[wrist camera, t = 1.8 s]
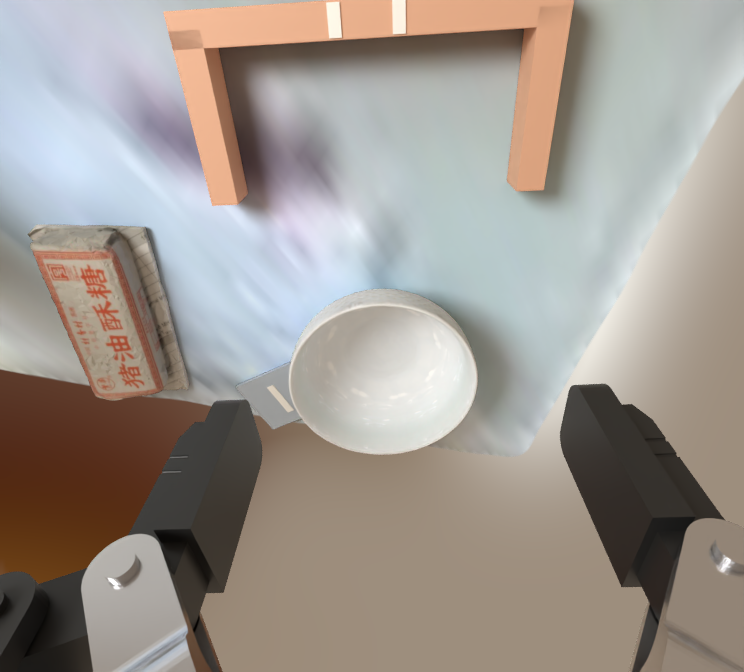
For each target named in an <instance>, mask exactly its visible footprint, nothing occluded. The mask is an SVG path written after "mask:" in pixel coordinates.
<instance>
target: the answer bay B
mask: <svg viewBox="0 0 744 672" xmlns="http://www.w3.org/2000/svg"><path fill="white" fill-rule="evenodd" d="M573 4H574V0H328V1H313V2H298V3H284V4H269V5H254V6H240V7H225V8H210V9H196V10H181V11H166V12H164V16H165V20H166V24H167V28H168V32H169V36H170V40H171V44H172V48H173V52H174V56H175V60H176V64H177V68H178V72H179V76H180V79H181V83H182V87H183V91H184V95H185V99H186V103H187V107H188V111H189V115H190V119H191V123H192V127H193V131H194V135H195V139H196V143H197V147H198V151H199V155H200V159H201V163H202V166H203V170H204V174H205V178H206V182H207V186H208V190H209V194H210V198H211V202H212V206H216V205H237V204H239V203H240V202H241V201H242V200H243V199H244V197H245V196H246V195H247V194H248V190H247V186H246V181H245V176H244V171H243V166H242V161H241V156H240V151H239V147H238V142H237V137H236V132H235V127H234V122H233V117H232V112H231V108H230V103H229V98H228V93H227V88H226V83H225V78H224V73H223V69H222V64H221V59H220V54H219V49H218V48H229V47H245V46H260V45H276V44H292V43H307V42H323V41H339V40H354V39H370V38H386V37H401V36H417V35H433V34H448V33H464V32H479V31H495V30H511V29H524V34H523V43H522V51H521V60H520V69H519V78H518V87H517V96H516V105H515V113H514V122H513V131H512V140H511V149H510V158H509V167H508V175H507V182H508V183H509V184H510V185H511V186H512V187H513V188H514V189H515V190H516V191H534V190H544V185H545V179H546V173H547V167H548V160H549V154H550V148H551V142H552V135H553V129H554V123H555V116H556V110H557V104H558V98H559V91H560V85H561V79H562V73H563V66H564V60H565V54H566V48H567V41H568V35H569V29H570V22H571V16H572V10H573Z"/></svg>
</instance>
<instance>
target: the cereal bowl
mask: <svg viewBox="0 0 744 672" xmlns="http://www.w3.org/2000/svg"><path fill="white" fill-rule="evenodd" d="M477 386H478V372H477V365H476V361H475V358H474V355H473V351H472V349H471V346H470V344H469V342H468V339H467V338H466V336H465V334H464V332H463V331H462V329H461V328H460V326H459V325H458V324H457V323H456V321H455V320H454V319H453V318H452V317H451V316H450V315H449V314H448V312H446V311H445V310H443V309H442V308H441V307H440V306H438V305H436V304H435V303H434V302H432V301H430V300H428V299H426V298H424V297H422V296H419V295H417V294H414V293H410V292H407V291H402V290H397V289H371V290H365V291H360V292H356V293H353V294H350V295H348V296H345V297H343V298H340V299H339V300H336V301H334V302H333V303H331V304H329V305H328V306H326V307H325V308H324V309H323V310H321V311H320V312H319V313H318V314H317V315H316V316H315V317H314V318H313V319H312V320H311V321H310V323H309V324H308V325H307V326H306V328H305V329H304V331H303V332H302V334H301V336H300V338H299V339H298V342H297V344H296V346H295V350H294V352H293V356H292V359H291V364H290V367H289V391H290V396H291V399H292V402H293V404H294V407H295V409H296V410H297V412H298V414H299V416H300V417H301V418H302V420H303V421H304V422H305V423H306V424H307V425H308V426H309V428H310V429H312V430H313V431H314V432H315V433H316V434H318V435H319V436H320V437H322V438H324V439H325V440H327V441H328V442H331V443H333V444H334V445H337V446H339V447H341V448H344V449H347V450H351V451H355V452H359V453H366V454H377V455H378V454H379V455H385V454H399V453H405V452H410V451H414V450H417V449H420V448H423V447H425V446H428V445H430V444H432V443H434V442H436V441H438V440H440V439H441V438H443V437H445V436H446V435H447V434H449V433H450V432H451V431H453V430H454V429H455V428H456V427H457V426H458V425H459V424H460V423H461V422H462V420H463V419H464V418H465V416H466V415H467V413H468V412H469V410H470V408H471V406H472V404H473V401H474V398H475V395H476V391H477Z"/></svg>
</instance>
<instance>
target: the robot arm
mask: <svg viewBox="0 0 744 672" xmlns="http://www.w3.org/2000/svg"><path fill="white" fill-rule="evenodd" d="M560 441H561V447H562V451H563V454H564V457H565V459H566V461H567V464H568V466H569V468H570V471H571V473H572V475H573V478H574V480H575V482H576V484H577V487H578V489H579V491H580V493H581V496H582V498H583V500H584V502H585V505H586V507H587V509H588V511H589V514H590V516H591V518H592V521H593V523H594V525H595V527H596V530H597V532H598V534H599V536H600V539H601V541H602V543H603V546H604V548H605V550H606V553H607V555H608V557H609V559H610V562H611V564H612V566H613V568H614V571H615V573H616V575H617V577H618V580H619V582H620V584H621V587H642V588H643V590H644V592H645V594H646V596H647V598H648V603H647V606H646V608H645V612H644V616H643V619H642V623H641V627H640V630H639V634H638V638H637V641H636V645H635V649H634V653H633V656H632V660H631V664H630V667H629V672H744V528H743V527H741V526H739V525H737V524H734V523H732V522H729V521H725V519H724V518H723V517H722V516H721V515H720V513H719V512H718V510H717V509H716V507H715V506H714V505H713V503H712V502H711V501H710V499H709V498H708V496H707V495H706V494H705V492H704V491H703V489H702V488H701V487H700V485H699V484H698V482H697V481H696V480H695V478H694V477H693V475H692V474H691V473H690V471H689V470H688V469H687V467H686V466H685V465H684V463H683V461H682V460H681V459H680V457H677V456H676V452H675V450H674V449H673V448H672V446H671V445H670V443H669V442H666V440H665V436H664V435H663V434H662V432H661V431H660V430H659V428H658V427H657V425H656V424H655V423H654V421H653V420H652V419H651V418H650V417H648V416H647V415H646V414H644V413H643V412H642V411H640V410H639V409H637V408H636V407H635V406H633V405H632V404H628V405H622V404H621V403H620V402H619V400H618V399H617V397H616V395H615V394H614V392H613V391H612V389H611V388H610V387H609V386H608V385H606V384H589V385H573V386H571V388H570V390H569V393H568V398H567V403H566V407H565V412H564V416H563V421H562V426H561V431H560ZM261 461H262V444H261V440H260V437H259V433H258V430H257V427H256V424H255V420H254V417H253V414H252V411H251V408H250V405H249V403H248V401H247V400H225V401H216V402H214V404H213V405H212V407H211V409H210V411H209V414H208V416H207V418H206V420H205V422H195V423H194V424H193V425H192V426H191V427H190V428H189V429H188V430H187V431H186V432H185V433H184V434H183V435H182V436H181V437H180V438H179V439H178V441H177V443H176V445H175V447H174V449H173V451H172V453H171V454H170V459H168V460H167V462H166V464H165V466H164V468H163V470H162V474H160V476H159V477H158V479H157V481H156V483H155V485H154V487H153V489H152V491H151V493H150V495H149V497H148V499H147V501H146V502H145V504H144V506H143V508H142V510H141V512H140V514H139V516H138V518H137V520H136V522H135V524H134V526H133V527H132V529H131V531H130V533H129V534H128V536H126V537H123V538H121V539H119V540H117V541H115V542H113V543H112V544H110V545H109V546H108V547H106V548H105V549H104V550H103V551H101V552H100V553H99V554H98V555H97V556H96V558H94V560H93V561H92V562H91V564H90V565H89V566H88V568H86V569H83V570H80V571H77V572H74V573H71V574H68V575H65V576H62V577H59V578H56V579H53V580H50V581H47V582H44V583H41V584H38V583H37V582H36V581H35V580H34V579H33V578H32V577H31V576H30V575H29V574H27V573H24V572H10V573H6V574H3V575H0V672H223V671H222V668H221V666H220V663H219V660H218V657H217V655H216V652H215V649H214V647H213V644H212V641H211V638H210V636H209V633H208V630H207V628H206V625H205V622H204V619H203V617H202V614H201V612H200V610H201V606H202V603H203V600H204V597H205V594H206V593H223V592H224V589H225V586H226V582H227V579H228V575H229V572H230V568H231V565H232V562H233V558H234V555H235V551H236V548H237V544H238V541H239V538H240V534H241V531H242V528H243V524H244V521H245V517H246V514H247V510H248V507H249V504H250V500H251V497H252V493H253V490H254V487H255V483H256V480H257V476H258V473H259V469H260V466H261Z"/></svg>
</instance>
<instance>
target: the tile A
mask: <svg viewBox="0 0 744 672" xmlns="http://www.w3.org/2000/svg"><path fill="white" fill-rule="evenodd" d="M290 364H291V362H288V363H286V364H284V365H282V366H279V367H277V368H275V369H272V370H270V371H268V372H266V373H263V374H261V375H259V376H257V377H254V378H252V379H250V380H247V381H245V382H243V383H241V384H238V385H236V387H235V388H236V389H237V390H238V391H239V392H240V394H241V395H242V396H243V397H244V398H245V399H246V400H247V401H248V402H249V403H250V405H251V406H252V407H253V408H254V409H255V410H256V411H257V412H258V413H259V415H260V416H261V417H262V418H263V419H264V420H265V421H266V422H267V423H268V425H269V426H270V427H271V428H272V429H276V428H278V427H281V426H283V425H286V424H288V423H291V422H293V421H296V420H298V419H301V417H300V416H299V414H298V412H297V410H296V409H295V407H294V404H293V402H292V399H291V396H290V391H289V367H290Z"/></svg>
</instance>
